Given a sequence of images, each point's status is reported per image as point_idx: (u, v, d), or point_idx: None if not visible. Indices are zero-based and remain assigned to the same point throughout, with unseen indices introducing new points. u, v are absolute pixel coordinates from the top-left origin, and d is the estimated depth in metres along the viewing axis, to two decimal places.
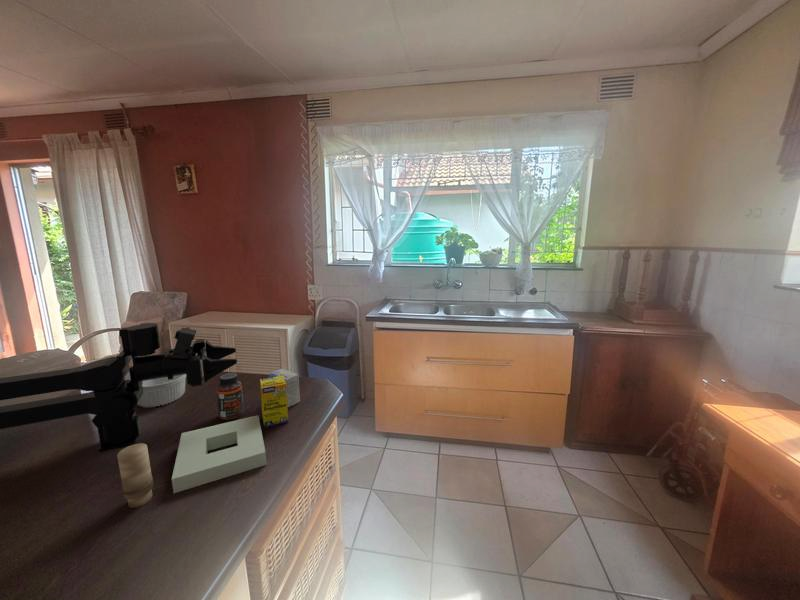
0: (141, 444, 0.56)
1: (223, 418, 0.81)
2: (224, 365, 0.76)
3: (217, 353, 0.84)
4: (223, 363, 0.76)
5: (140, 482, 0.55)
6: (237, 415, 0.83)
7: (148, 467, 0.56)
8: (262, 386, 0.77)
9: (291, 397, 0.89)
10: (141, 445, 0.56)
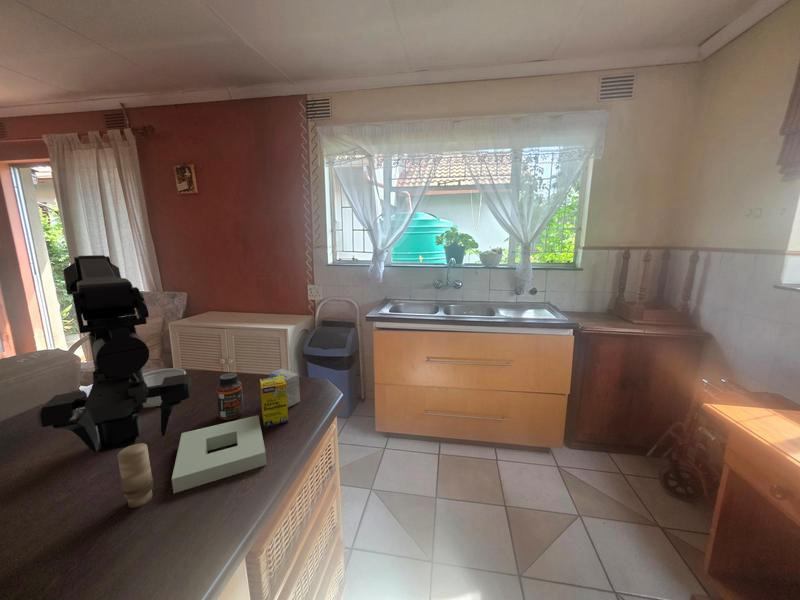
0: (141, 444, 0.56)
1: (223, 418, 0.81)
2: None
3: None
4: None
5: (140, 482, 0.55)
6: (237, 415, 0.83)
7: (148, 467, 0.56)
8: (262, 386, 0.77)
9: (291, 397, 0.89)
10: (141, 445, 0.56)
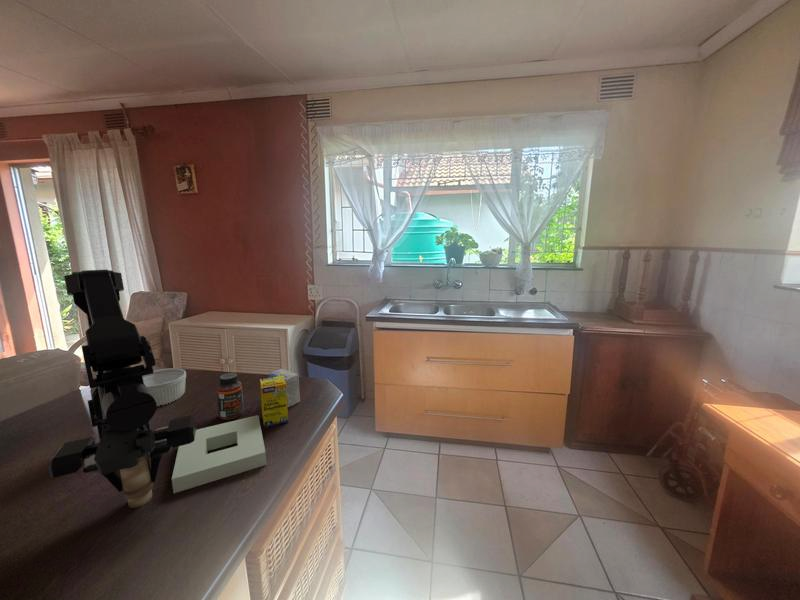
0: None
1: (223, 418, 0.81)
2: None
3: None
4: None
5: (140, 482, 0.55)
6: (237, 415, 0.83)
7: (148, 467, 0.56)
8: (262, 386, 0.77)
9: (291, 397, 0.89)
10: None
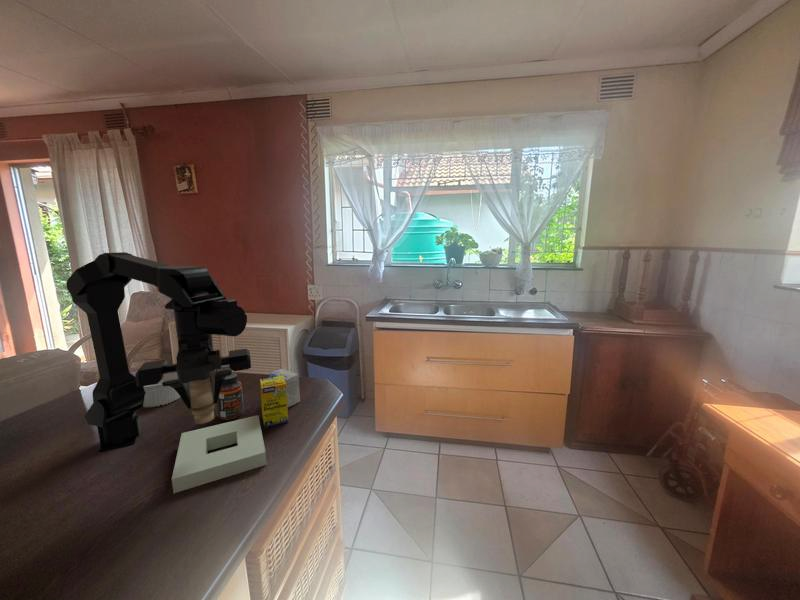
0: None
1: (223, 418, 0.81)
2: None
3: None
4: None
5: (206, 401, 0.62)
6: (237, 415, 0.83)
7: (212, 389, 0.64)
8: (262, 386, 0.77)
9: (291, 397, 0.89)
10: None
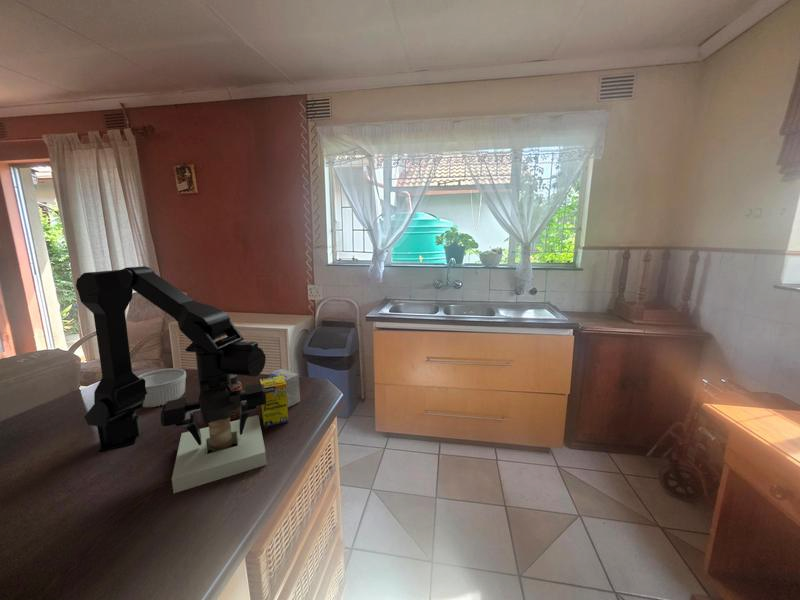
0: None
1: None
2: None
3: (240, 414, 0.69)
4: None
5: (225, 439, 0.67)
6: (237, 415, 0.83)
7: (230, 427, 0.68)
8: None
9: (291, 397, 0.89)
10: None
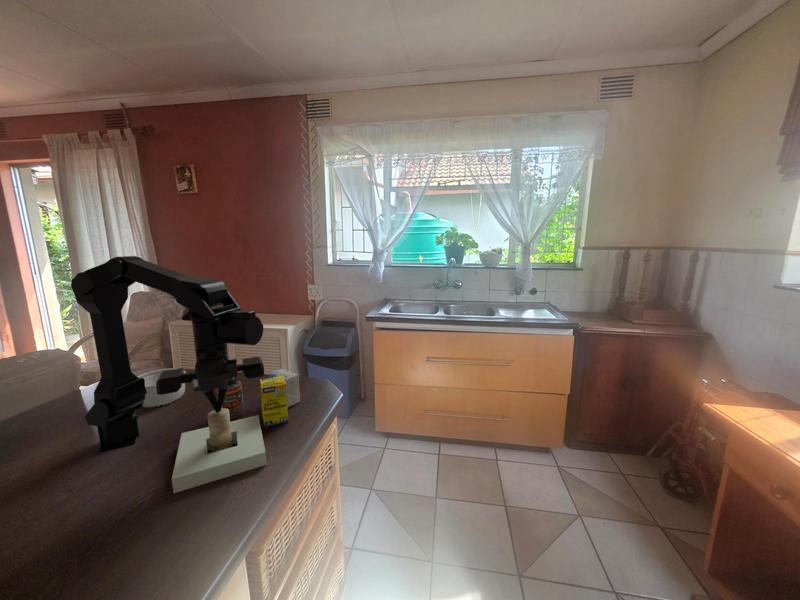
0: (223, 408, 0.69)
1: None
2: None
3: (218, 391, 0.67)
4: (210, 400, 0.66)
5: (225, 439, 0.67)
6: (237, 415, 0.83)
7: (230, 427, 0.68)
8: (262, 386, 0.77)
9: (291, 397, 0.89)
10: (224, 409, 0.68)
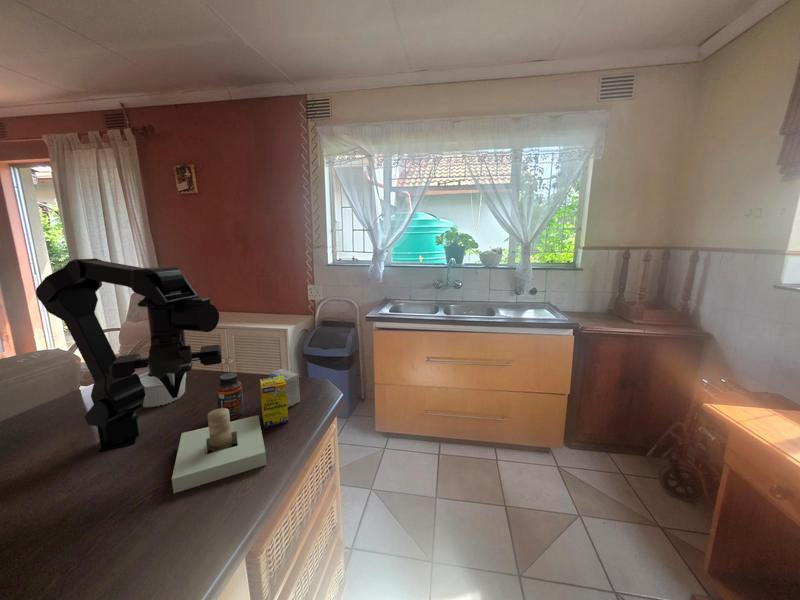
0: (223, 408, 0.69)
1: None
2: None
3: None
4: None
5: (225, 438, 0.67)
6: (237, 415, 0.83)
7: (230, 427, 0.68)
8: (262, 386, 0.77)
9: (291, 397, 0.89)
10: (224, 409, 0.68)
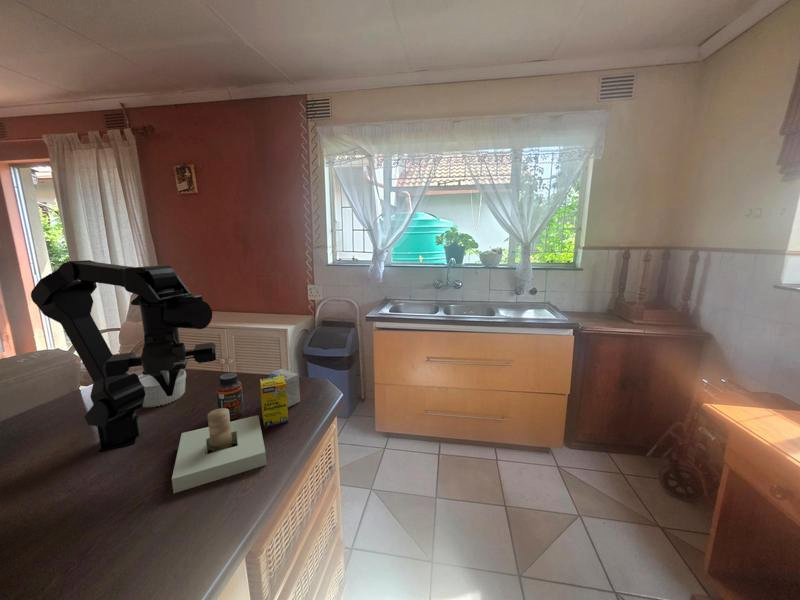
0: (223, 408, 0.69)
1: None
2: None
3: None
4: None
5: (225, 439, 0.67)
6: (237, 415, 0.83)
7: (230, 427, 0.68)
8: (262, 386, 0.77)
9: (291, 397, 0.89)
10: (224, 409, 0.68)
